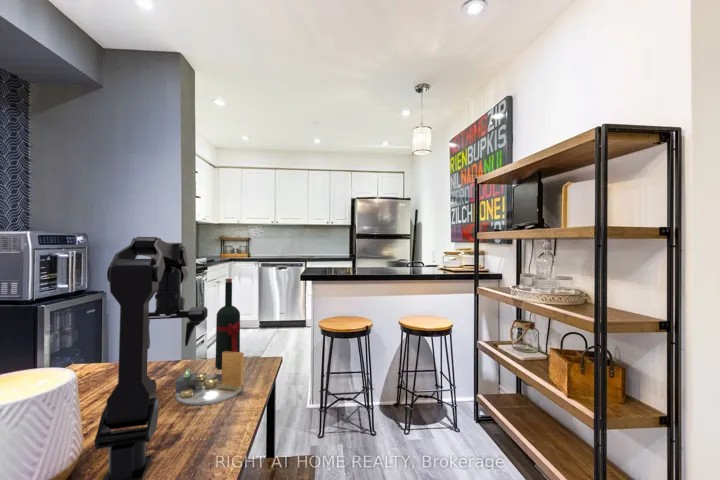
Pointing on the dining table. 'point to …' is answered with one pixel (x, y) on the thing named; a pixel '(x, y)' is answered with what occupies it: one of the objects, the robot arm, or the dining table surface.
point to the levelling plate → (200, 390)
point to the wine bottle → (227, 326)
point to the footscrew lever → (229, 372)
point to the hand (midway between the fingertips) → (167, 347)
